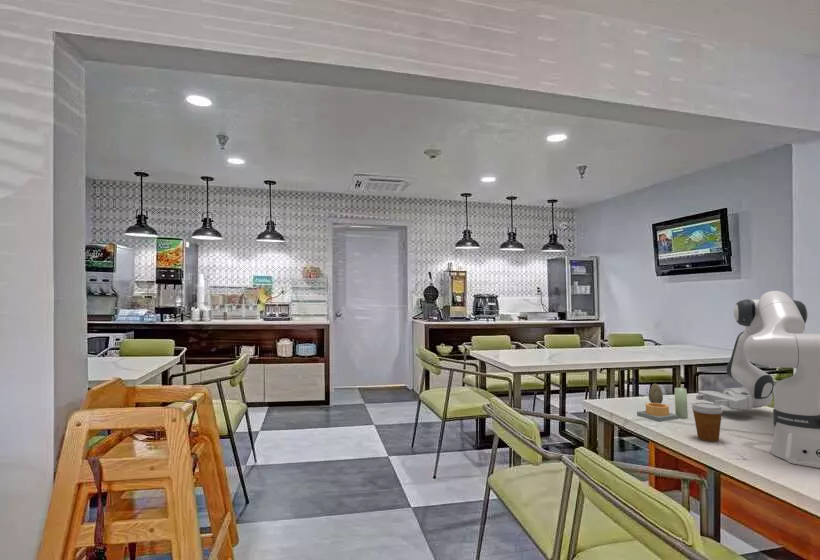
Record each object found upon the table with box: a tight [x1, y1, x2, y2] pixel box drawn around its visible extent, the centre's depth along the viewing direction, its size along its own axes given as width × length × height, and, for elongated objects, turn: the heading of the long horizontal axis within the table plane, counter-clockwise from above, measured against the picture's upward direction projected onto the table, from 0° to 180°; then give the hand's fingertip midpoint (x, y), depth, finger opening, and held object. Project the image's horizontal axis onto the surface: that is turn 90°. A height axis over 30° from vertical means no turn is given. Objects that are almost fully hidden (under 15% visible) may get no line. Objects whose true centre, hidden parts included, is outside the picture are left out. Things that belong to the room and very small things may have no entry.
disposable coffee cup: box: [691, 402, 724, 442], centre depth 160 cm, size 10×10×12 cm
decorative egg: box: [648, 383, 664, 404], centre depth 211 cm, size 6×6×10 cm
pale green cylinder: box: [674, 387, 689, 419], centre depth 190 cm, size 4×4×12 cm
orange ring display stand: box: [636, 402, 680, 422], centre depth 190 cm, size 11×11×5 cm
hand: (705, 400), depth 191 cm, fingers open, 8 cm apart
